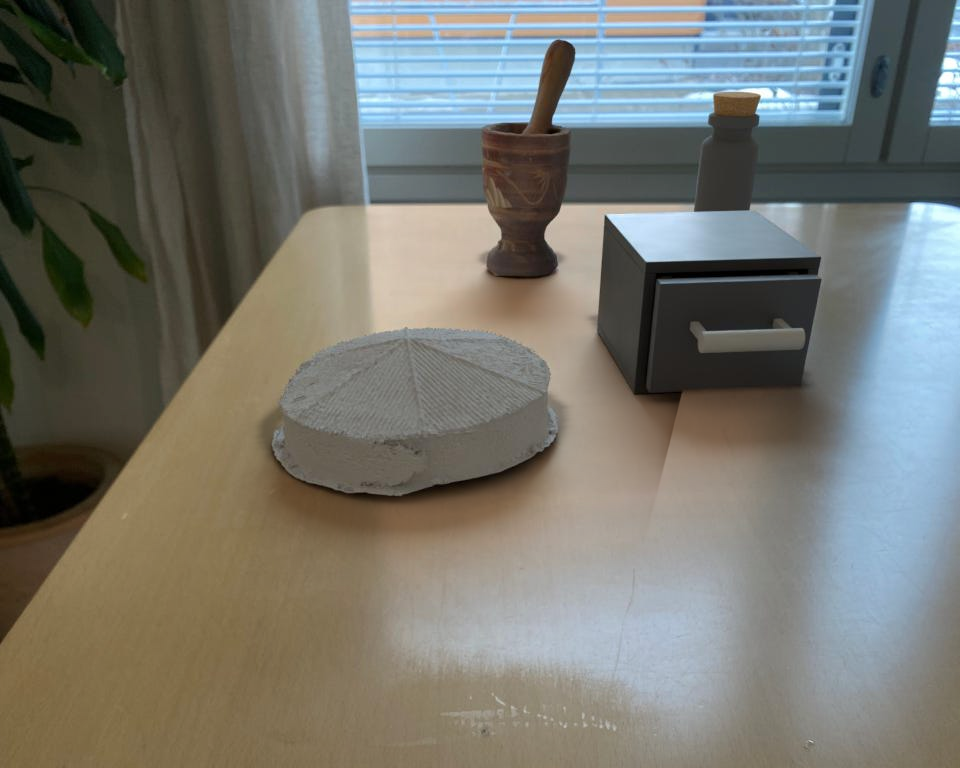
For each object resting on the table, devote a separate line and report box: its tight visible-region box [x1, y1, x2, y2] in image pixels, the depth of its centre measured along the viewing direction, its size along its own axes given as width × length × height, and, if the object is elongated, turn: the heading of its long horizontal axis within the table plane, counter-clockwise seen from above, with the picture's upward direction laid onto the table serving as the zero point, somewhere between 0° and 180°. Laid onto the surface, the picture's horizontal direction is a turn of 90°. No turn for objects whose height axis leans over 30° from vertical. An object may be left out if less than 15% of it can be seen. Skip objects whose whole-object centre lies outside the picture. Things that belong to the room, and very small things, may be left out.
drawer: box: [646, 269, 822, 394], centre depth 73 cm, size 18×11×8 cm, turn 5°
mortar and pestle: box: [480, 39, 577, 277], centre depth 97 cm, size 12×9×20 cm
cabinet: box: [596, 209, 822, 395], centre depth 77 cm, size 15×13×10 cm
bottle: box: [693, 91, 762, 212], centre depth 103 cm, size 6×6×15 cm
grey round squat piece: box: [271, 326, 559, 497], centre depth 66 cm, size 20×20×7 cm
